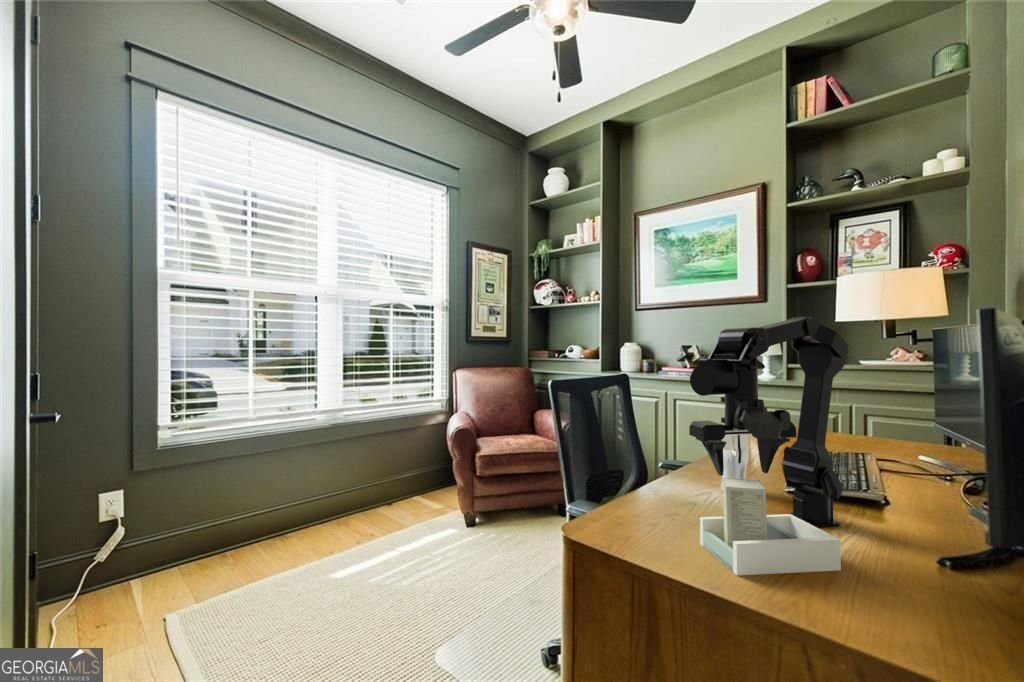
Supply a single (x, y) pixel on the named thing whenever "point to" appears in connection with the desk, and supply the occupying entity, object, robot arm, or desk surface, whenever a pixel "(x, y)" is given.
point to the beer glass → (735, 456)
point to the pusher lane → (774, 548)
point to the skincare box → (744, 510)
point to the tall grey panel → (777, 532)
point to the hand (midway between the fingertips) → (742, 473)
